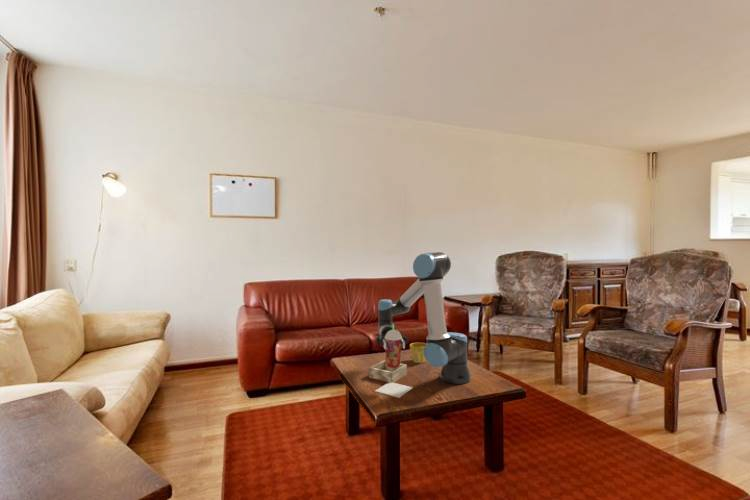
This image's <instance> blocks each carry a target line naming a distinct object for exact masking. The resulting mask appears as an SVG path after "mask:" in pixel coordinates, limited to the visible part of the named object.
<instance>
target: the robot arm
mask: <svg viewBox="0 0 750 500" xmlns="http://www.w3.org/2000/svg"><path fill="white" fill-rule="evenodd" d="M451 266H452V263H451V259H450V257H449V255H447V254H446V253H444V252H441V251H440V252H424V253H420V254H418V255H417V256H416V257H415V259H414V260H413V262H412V270H413V273H414V274H415V275H416V277H417V278H418V279H417V280H416V281H415V282H413V284H412V285H411V286H410V287H408V289H407V290H406V291H405V292H404V293H403V294H402V295H401V296H400V297H398V299H397V300H395V301H392V299H389V298H388V299H380V300H379V301H378V305H377V306H378V307H377V310H378V311H377V312H378V313H377V314H378V319H377V320H378V324H377V330H378V333H379V334H378V333H376V334H375V338H376V340H375V341H376V343H375V344H376V345H378V346H379V345H380V347H383V349H384V350H385V349H386V342H385V338H384V337H385V336H386V333H387V332H388V331H390V330H393V317H394V316H398V315H401V314H405V313H408V312H409V311H410V310H411V306H412V305H413V304H414V303H416V301H417V300H418V299H419V298H421V297H422V296H424V297H423V298H424V304H425V312H426V320H427V329H428V335H427V336H426V344H427V345H426V346H425V348H424V351H423V353H424V357H425V361H426V362H427V363H428V364H429V365H430V366H432V367H434V368H441V367H442V368H441V370H440V373H439V374H440V380H442V381H444V382H445V383H449V384H452V385H453V384H455V385H462V384H466V383H469V382H471V380H472V377H471V376H472V375H471V372H470V369H469V366H468V337H467V335H466V334H464V333H460V332H453V331H452V332H451V331H449V332H448V329H447V324H446V314H445V308H444V300H443V291H442V284H441V283H442V281H443V280H444V277H445V276H446V275H447V274H448V272H449V271H450V269H451ZM400 334H401V336H402V346H401V348H402V350H403V349H406V345H407V344H409V338H408V337H407V336H406V335H404V333H403V332H402V333H400Z"/></svg>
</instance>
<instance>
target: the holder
mask: <svg viewBox="0 0 750 500" xmlns="http://www.w3.org/2000/svg"><path fill="white" fill-rule="evenodd" d="M407 375H408V365H407V364H405V363H401V362H400V364H399V367H397V368H390V367H388V366H387V364H386V359H384V360H381V361H380V362H377V363H375V364H373V365H371V366H368V378H370V379H373V380H379V381H381V382H386V383H388V382H393V383H396V382H397V381H398V380H400V379H402V378H403V377H406V376H407Z"/></svg>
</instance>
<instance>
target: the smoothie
mask: <svg viewBox="0 0 750 500" xmlns="http://www.w3.org/2000/svg"><path fill="white" fill-rule="evenodd" d="M392 327H393V330H390V331H388V332H387V333H386V336H385V337H384V338H385V342H386V349H384V350H385V353H384V354H385V360H386V364H387V366H388V367H390V368H397V367H399V364H400V363H401V361H402V360H401V358H402V357H401V356H402V336H401V333H400V331H398V330H397V329H395V323H392Z"/></svg>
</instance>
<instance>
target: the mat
mask: <svg viewBox="0 0 750 500" xmlns="http://www.w3.org/2000/svg"><path fill="white" fill-rule="evenodd" d="M413 388H414V387H413V386H410V385H409V386H408V385H404V384H400V383H396V382H394V383H393V382H386V384H384V385H382V386H380V387H378V388H377V389H375V390H374V392H375V393H378V394H382V395H387V396H391V397H395V398H398V399H399V398H401V397H403V396H404V395H405V394H407V393H408V392H409V391H411V390H412V389H413Z"/></svg>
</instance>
